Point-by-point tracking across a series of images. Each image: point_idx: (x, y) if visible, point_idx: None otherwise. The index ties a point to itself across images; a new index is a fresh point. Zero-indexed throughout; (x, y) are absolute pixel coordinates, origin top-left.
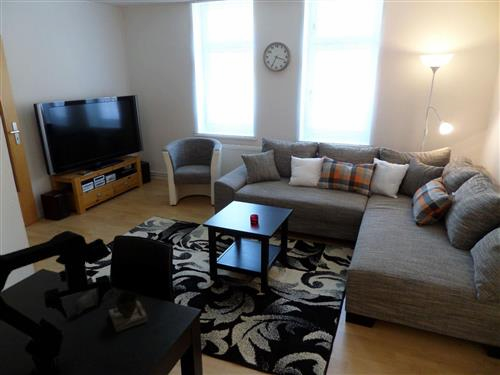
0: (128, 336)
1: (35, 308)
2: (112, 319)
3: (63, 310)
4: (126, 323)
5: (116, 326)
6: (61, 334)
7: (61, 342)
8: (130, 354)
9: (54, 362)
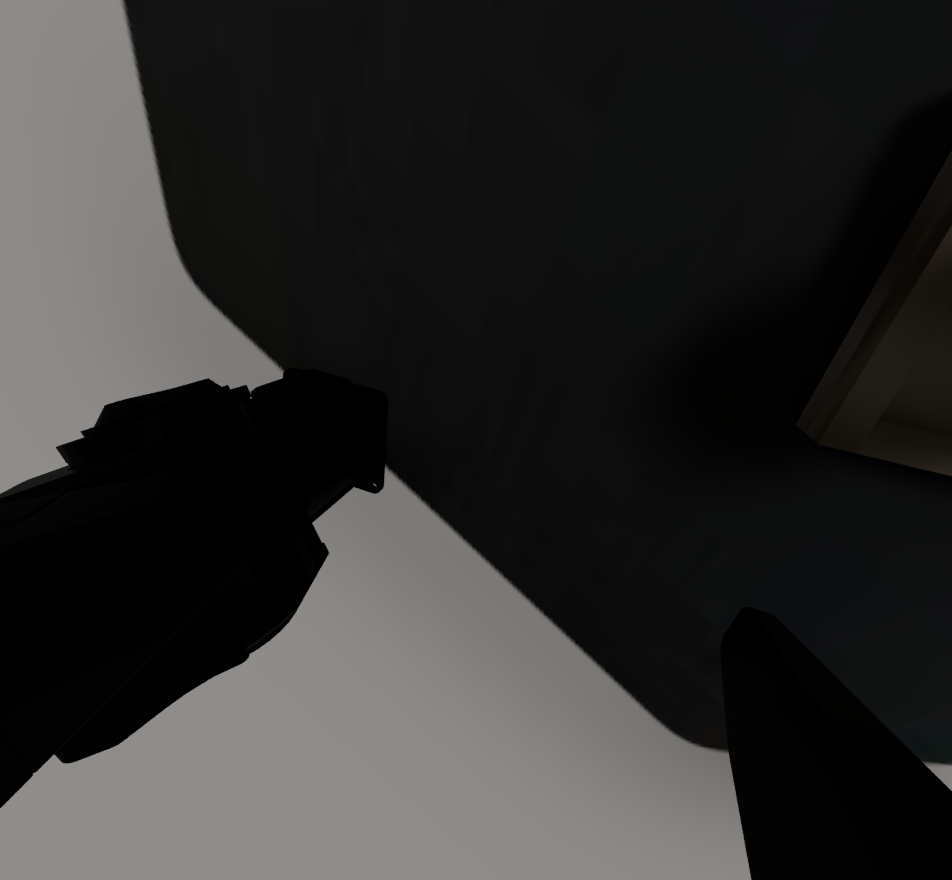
0: (821, 531)
1: None
2: (907, 275)
3: (80, 709)
4: (938, 470)
5: (830, 440)
6: (261, 639)
7: (313, 564)
8: (705, 644)
9: (340, 490)
